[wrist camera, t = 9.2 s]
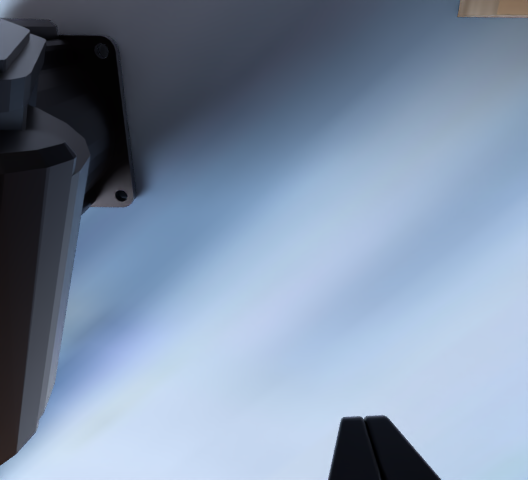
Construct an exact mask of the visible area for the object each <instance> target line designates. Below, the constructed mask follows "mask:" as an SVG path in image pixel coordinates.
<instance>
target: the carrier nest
mask: <svg viewBox="0 0 528 480" xmlns="http://www.w3.org/2000/svg"><path fill="white" fill-rule="evenodd" d="M457 17H507V18H528V0H460V5H459V11H458V16H457Z"/></svg>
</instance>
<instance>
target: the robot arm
mask: <svg viewBox="0 0 528 480" xmlns="http://www.w3.org/2000/svg"><path fill="white" fill-rule="evenodd" d="M100 44H105V45H106V46H107V47H108V50H109V54H108V56H107V57H106V58H104V57H102V56H101V55H100V54H99V51H98V47H99V45H100ZM118 190H123V191H125V192H126V193H127V196H128V197H127V198H121V197H120V196H119V194H118ZM135 197H136V189H135V181H134V172H133V164H132V156H131V147H130V139H129V131H128V122H127V114H126V106H125V97H124V89H123V81H122V72H121V64H120V56H119V49H118V46H117V44H116V43H115V41H114V40H113V39H111V38H110V37H108V36H103V35H58V30H57V26H56V25H55V24H53V23H52V22H51V21H50V20H32V19H2V18H0V465H2V464H3V463H5V462H6V461H7V460H9V459H10V458H11V457H13V456H14V455H16V454H17V453H18V451H19V450H20V449H21V448H22V447H23V446H24V445H25V444H26V443H27V441H28V440H29V439H30V438H31V437H32V436H33V435H34V434H35V432H36V430H37V428H38V424H39V419H40V418H41V416H42V415H43V413H44V411H45V408H46V406H47V403H48V400H49V397H50V395H51V392H52V389H53V386H54V384H55V379H56V372H57V366H58V359H59V353H60V347H61V340H62V334H63V328H64V321H65V315H66V308H67V302H68V296H69V289H70V283H71V277H72V270H73V264H74V257H75V251H76V245H77V238H78V232H79V226H80V219H81V215H82V214H83V213H84V212H85V211H86V210H87V209H88V208H89V207H127V206H129V205H130V204H131V203H132V202H133V201H134V199H135ZM328 480H441V479H440V478H439V477H438V475H437V474H436V473H435V472H434V471H433V470H432V468H431V467H430V466H429V465H428V464H427V463H426V461H425V460H424V459H423V458H422V457H421V456H420V454H419V453H418V452H417V451H416V450H415V449H414V447H413V446H412V445H411V444H410V443H409V442H408V440H407V439H406V438H405V437H404V436H403V435H402V434H401V432H400V431H399V430H398V429H397V428H396V427H395V425H394V424H393V423H392V422H391V421H390V420H389V418H387V417H386V416H383V415H379V416H366V417H365V418H364V419H363V418H362V417H360V416H357V417H343V418H342V419H341V422H340V426H339V431H338V436H337V440H336V445H335V450H334V454H333V459H332V464H331V469H330V473H329V478H328Z"/></svg>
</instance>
